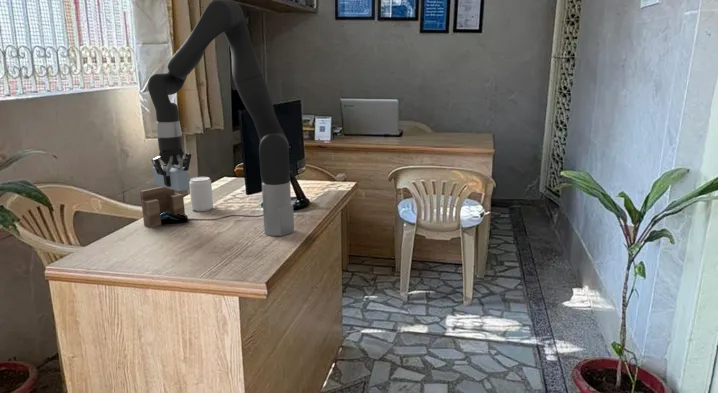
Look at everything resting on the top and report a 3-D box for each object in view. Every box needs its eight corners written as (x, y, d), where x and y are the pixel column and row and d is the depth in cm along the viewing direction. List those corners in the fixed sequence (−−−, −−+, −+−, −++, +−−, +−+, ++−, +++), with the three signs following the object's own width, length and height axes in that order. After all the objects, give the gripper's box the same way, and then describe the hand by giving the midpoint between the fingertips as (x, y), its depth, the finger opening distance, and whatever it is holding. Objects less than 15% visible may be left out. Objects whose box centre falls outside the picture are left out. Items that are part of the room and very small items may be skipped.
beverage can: (209, 211, 201) (207, 181, 198) (188, 212, 202) (185, 181, 198) (215, 206, 209) (213, 176, 206) (195, 206, 209) (192, 176, 206)
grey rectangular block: (189, 188, 178) (188, 171, 177) (179, 191, 175) (177, 173, 174) (164, 182, 188) (162, 165, 187) (154, 184, 185) (152, 167, 184)
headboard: (185, 218, 193) (182, 186, 190) (150, 227, 183) (146, 193, 180) (176, 215, 197) (173, 184, 194) (141, 224, 187) (138, 191, 184)
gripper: (182, 131, 184) (186, 180, 188) (143, 136, 173) (149, 187, 178) (194, 133, 179) (199, 183, 183) (155, 138, 168) (161, 191, 173)
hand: (174, 184), depth 180 cm, fingers closed on grey rectangular block, 4 cm apart
